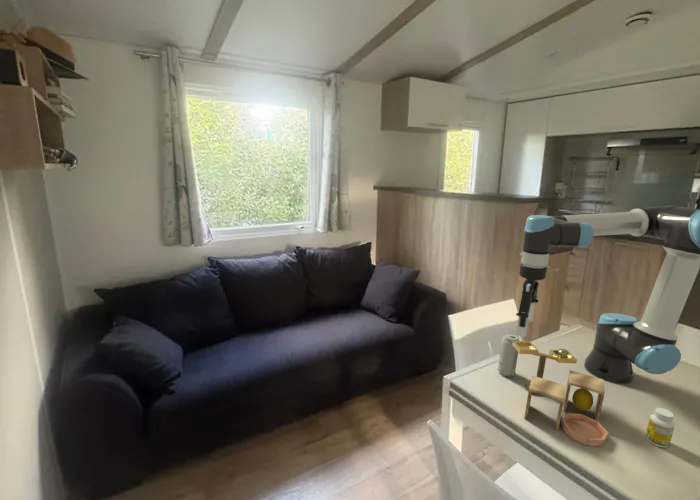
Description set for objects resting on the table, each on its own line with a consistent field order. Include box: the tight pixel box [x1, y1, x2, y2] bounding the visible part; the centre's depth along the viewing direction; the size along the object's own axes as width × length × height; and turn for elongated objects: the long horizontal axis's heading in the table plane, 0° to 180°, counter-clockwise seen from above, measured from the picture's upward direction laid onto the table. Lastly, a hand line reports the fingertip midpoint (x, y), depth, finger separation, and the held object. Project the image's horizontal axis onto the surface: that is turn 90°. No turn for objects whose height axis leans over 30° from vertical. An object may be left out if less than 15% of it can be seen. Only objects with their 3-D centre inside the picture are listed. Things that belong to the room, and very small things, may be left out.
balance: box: [512, 340, 578, 396], centre depth 124 cm, size 19×6×17 cm, turn 88°
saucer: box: [560, 412, 609, 448], centre depth 106 cm, size 11×11×2 cm
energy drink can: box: [497, 333, 520, 378], centre depth 134 cm, size 6×6×15 cm
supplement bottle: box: [644, 407, 675, 449], centre depth 102 cm, size 5×5×10 cm
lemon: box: [571, 388, 594, 412], centre depth 115 cm, size 6×6×8 cm
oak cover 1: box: [524, 375, 567, 432], centre depth 111 cm, size 9×8×11 cm
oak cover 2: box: [562, 370, 606, 422], centre depth 114 cm, size 9×8×11 cm
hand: (524, 327), depth 118 cm, fingers open, 13 cm apart
